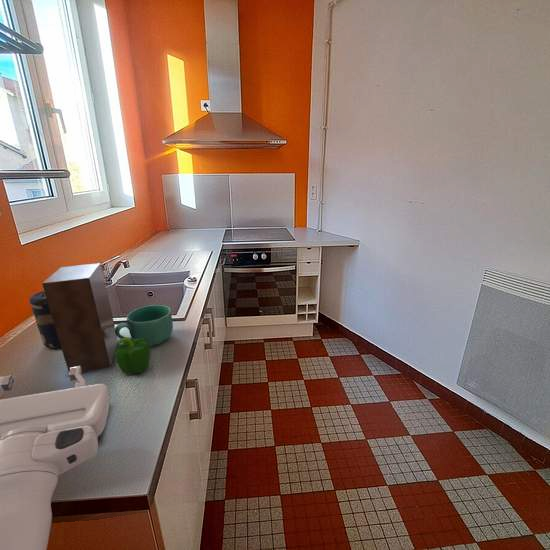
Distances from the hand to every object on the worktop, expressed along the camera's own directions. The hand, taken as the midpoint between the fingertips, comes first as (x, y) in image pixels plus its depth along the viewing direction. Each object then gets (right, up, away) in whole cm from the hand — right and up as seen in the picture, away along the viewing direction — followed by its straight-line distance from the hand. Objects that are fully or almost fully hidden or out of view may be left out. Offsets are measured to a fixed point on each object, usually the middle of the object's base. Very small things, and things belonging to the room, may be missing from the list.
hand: (42, 372), depth 50 cm
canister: (-29, -5, +46) cm, 55 cm away
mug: (-1, -5, +45) cm, 45 cm away
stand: (-14, -7, +38) cm, 41 cm away
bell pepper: (+1, -9, +31) cm, 33 cm away
